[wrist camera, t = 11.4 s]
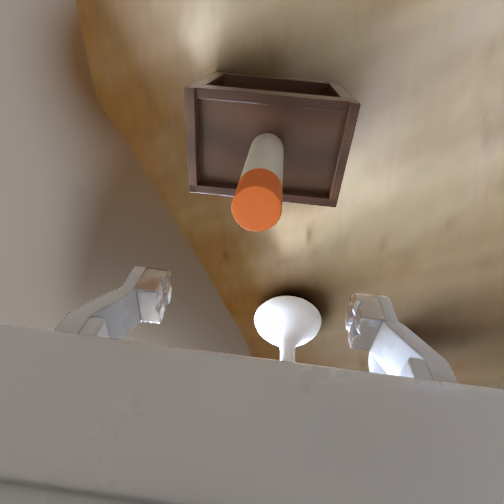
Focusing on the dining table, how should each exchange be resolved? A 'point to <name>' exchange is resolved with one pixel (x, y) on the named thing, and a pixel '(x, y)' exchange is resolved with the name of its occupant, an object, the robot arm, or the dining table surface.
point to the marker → (260, 185)
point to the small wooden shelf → (269, 121)
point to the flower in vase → (287, 323)
